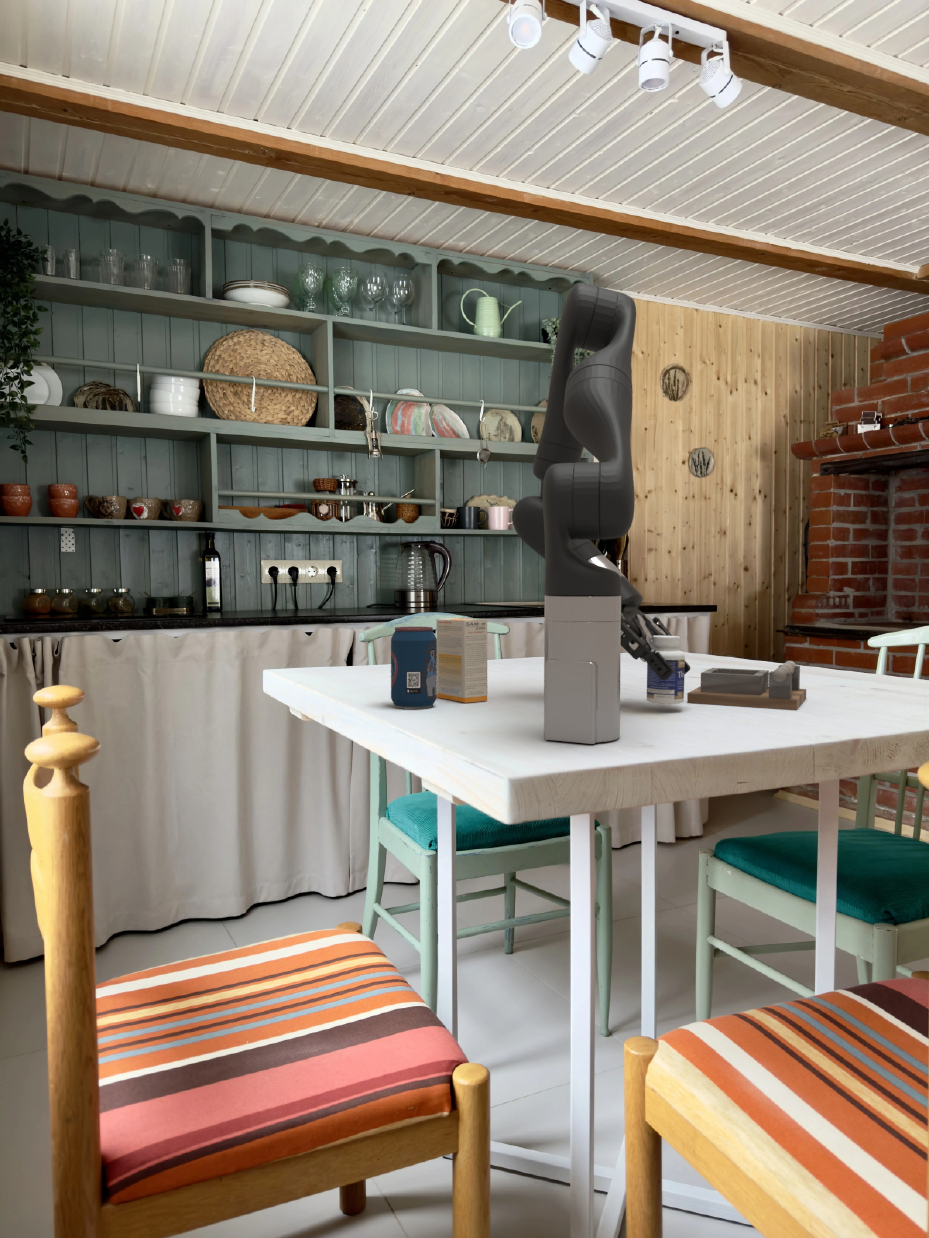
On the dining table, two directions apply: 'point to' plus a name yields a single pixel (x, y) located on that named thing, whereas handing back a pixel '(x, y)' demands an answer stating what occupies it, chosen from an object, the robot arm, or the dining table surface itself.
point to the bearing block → (751, 688)
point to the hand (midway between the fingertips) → (677, 674)
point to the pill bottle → (674, 685)
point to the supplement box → (462, 659)
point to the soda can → (413, 667)
